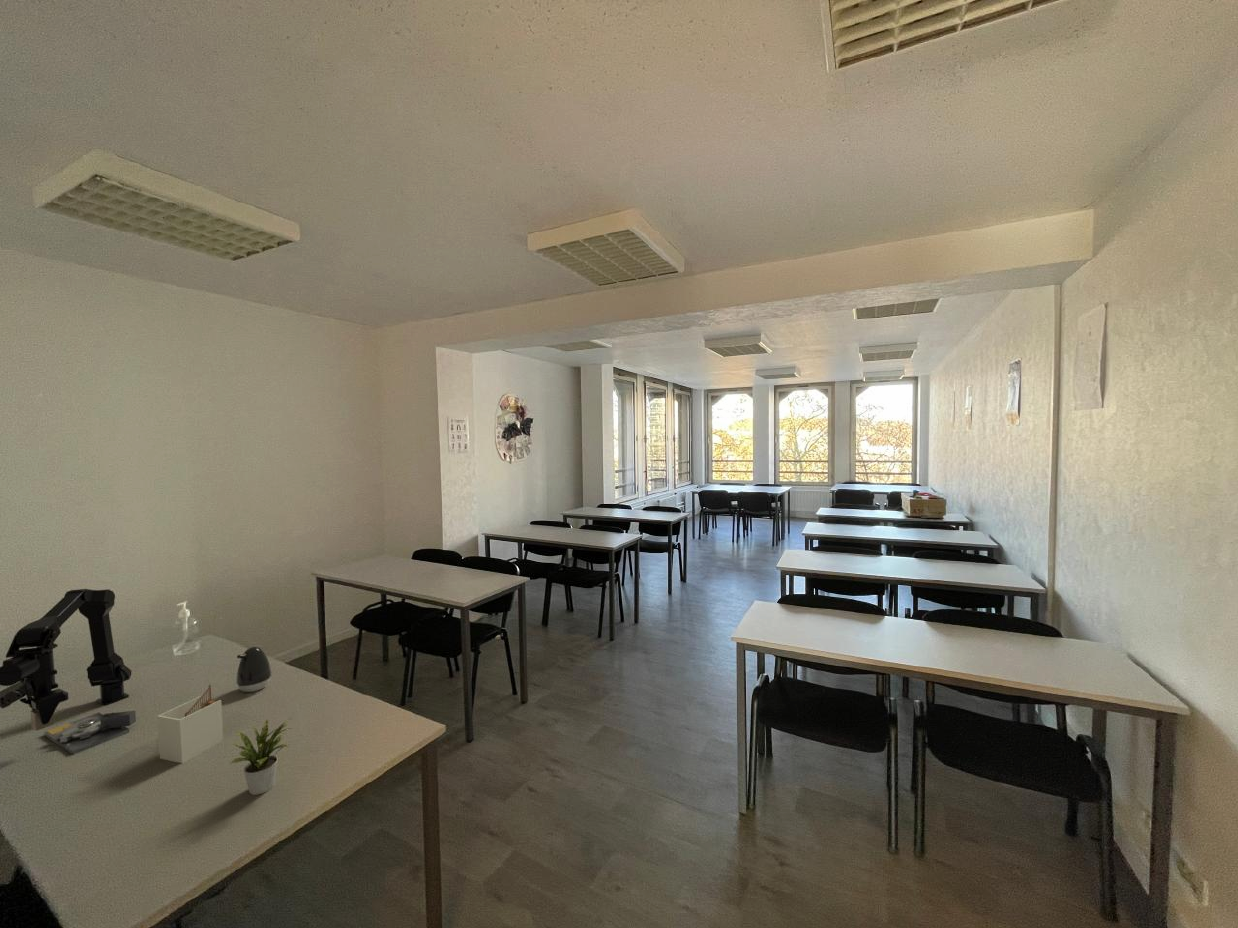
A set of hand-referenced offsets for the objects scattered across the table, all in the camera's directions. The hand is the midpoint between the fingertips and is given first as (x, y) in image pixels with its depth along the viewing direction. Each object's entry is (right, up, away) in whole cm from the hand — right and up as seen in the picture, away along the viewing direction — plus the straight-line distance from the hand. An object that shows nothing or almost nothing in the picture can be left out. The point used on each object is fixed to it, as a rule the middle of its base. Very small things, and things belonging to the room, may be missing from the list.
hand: (42, 722), depth 141 cm
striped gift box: (0, -1, 0) cm, 1 cm away
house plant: (+77, -8, -17) cm, 79 cm away
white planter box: (+44, -8, 0) cm, 44 cm away
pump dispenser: (+36, -6, +34) cm, 50 cm away
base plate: (+4, -8, +8) cm, 12 cm away
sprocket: (+7, -7, +9) cm, 13 cm away
